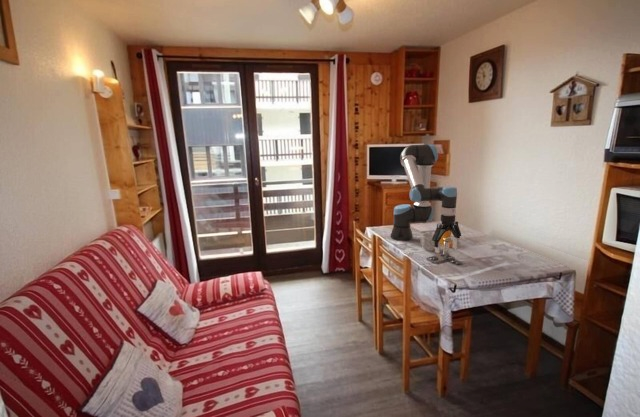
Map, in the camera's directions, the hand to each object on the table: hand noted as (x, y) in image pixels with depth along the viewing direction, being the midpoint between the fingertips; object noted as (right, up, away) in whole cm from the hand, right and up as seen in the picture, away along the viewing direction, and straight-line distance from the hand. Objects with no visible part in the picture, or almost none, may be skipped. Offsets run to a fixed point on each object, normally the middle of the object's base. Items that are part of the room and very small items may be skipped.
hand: (446, 250), depth 183 cm
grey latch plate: (+2, -6, -2) cm, 7 cm away
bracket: (+10, -1, +24) cm, 26 cm away
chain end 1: (-4, -5, -1) cm, 6 cm away
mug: (-5, -2, +18) cm, 19 cm away
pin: (0, -6, +1) cm, 6 cm away
